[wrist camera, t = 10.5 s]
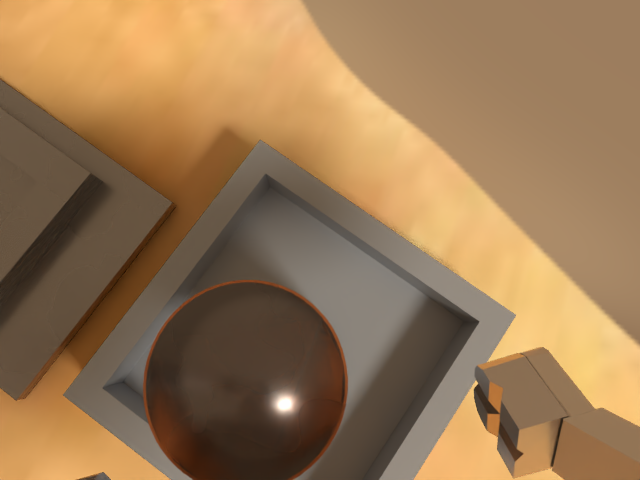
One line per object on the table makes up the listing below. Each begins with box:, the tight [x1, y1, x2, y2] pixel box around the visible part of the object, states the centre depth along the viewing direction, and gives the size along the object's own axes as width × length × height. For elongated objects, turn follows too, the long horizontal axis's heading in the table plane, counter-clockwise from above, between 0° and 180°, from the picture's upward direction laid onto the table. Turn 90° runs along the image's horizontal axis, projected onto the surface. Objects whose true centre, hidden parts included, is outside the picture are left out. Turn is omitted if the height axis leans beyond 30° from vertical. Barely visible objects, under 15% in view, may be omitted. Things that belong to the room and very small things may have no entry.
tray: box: [63, 140, 516, 480], centre depth 19 cm, size 12×12×2 cm
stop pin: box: [143, 280, 348, 480], centre depth 14 cm, size 4×4×11 cm
